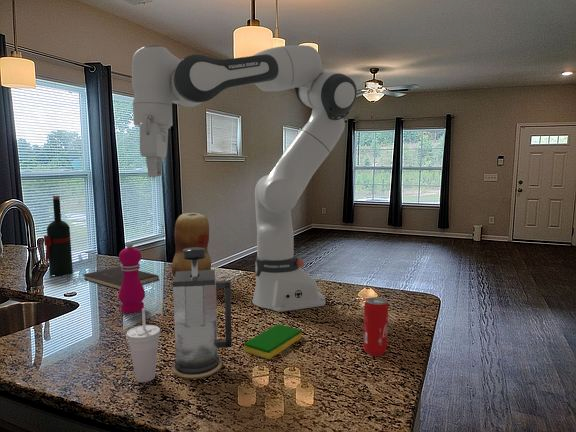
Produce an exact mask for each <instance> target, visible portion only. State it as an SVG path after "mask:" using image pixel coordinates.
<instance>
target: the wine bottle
mask: <svg viewBox="0 0 576 432" xmlns="http://www.w3.org/2000/svg"><path fill="white" fill-rule="evenodd" d="M52 198H53V199H52V203H53V216H54V217H53V220H54V221H52V222H50V223H49V224H48V225H47V227H46V235H44V236H43V241H44V242H43V243H44V246H46V247H45V259H44V261H45V260H46V261H47V263H48V268H49V269H48V270H49V271H48V272H49V276H50V275H55V276H54V277H63V275H65V276H68V274H69V275H72V274H73V273H74V269H73V268H74V267H73V259H72V258H73V255H72V241H71V229H70V228H71V227H70V225H69V224H68V223H67V222H66V221H63V220H62V214H61V199H60V195H52Z"/></svg>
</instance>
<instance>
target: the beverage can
mask: <svg viewBox="0 0 576 432" xmlns="http://www.w3.org/2000/svg"><path fill="white" fill-rule="evenodd" d="M363 307H364V309H363V310H364V311H363V312H364V314H363V315H364V317H363V349H364V352H365V353H366V354H367V355H369V356H372V357H380V356H383V355H385V353H386V351H387V350H388V349H387V348H388V325H389V323H388V320H389V304H388V300H387V299H385V298H383V297H376V296H375V297H374V296H373V297H372V296H371V297H367V298H366V299H365V302H364V306H363Z"/></svg>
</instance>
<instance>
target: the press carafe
mask: <svg viewBox="0 0 576 432" xmlns="http://www.w3.org/2000/svg"><path fill="white" fill-rule="evenodd" d="M215 273H216V272H215V269H211V270H198V277H192V271H176V274H175V277H174V276H173V280H172V291H173V295H172V296H173V321H174V344H175V345H174V347H175V348H174V349H175V350H174V351H175V358H174V361H173V362H172V364H171V372H172V374H173V375H174V376H176V377H178V378H180V379H186V380H198V379H204V378H207V377H210V376H213V375H215V374H217V373H218V372H220V370H221V369H222V367H223V359H222V357H220V355H219V353H218V352H219V351H218V350H219V349H224V348H232V347H233V345H232V344H233V343H232V342H233V341H232V339H233V338H232V291H231V289H232V287H231V285H232V283H231V282H232V281H231V280H218V281H217V278H216V274H215ZM219 289H224V317H225V318H224V325H225V327H224V329H225V330H224V332H225V339H218V316H217V315H218V314H217V290H219ZM216 372H217V373H216Z"/></svg>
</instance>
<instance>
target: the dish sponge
mask: <svg viewBox="0 0 576 432" xmlns="http://www.w3.org/2000/svg"><path fill="white" fill-rule="evenodd" d="M300 339H302V330H301V329H299V328H295V327H291V326H287V325H284V324H280V323H279V324H276V325H274V326H272V327H271V328H268V329H267V330H265V331H263V332H261V333H260V334H258V335H256V336H254V337H253V338H250V339H249V340H247V341H245V342H244V349H243V350H244V352H245V353H248V354H250V355H255V356H257V357H260V358H263V359H266V360H271V358H273V357H274V356H277V355H278V354H279V353H281V352H282V351H284V350H286V348H288V347H289V346H292V345H293V344H294V343H297V342H298V341H299V340H300Z"/></svg>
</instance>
